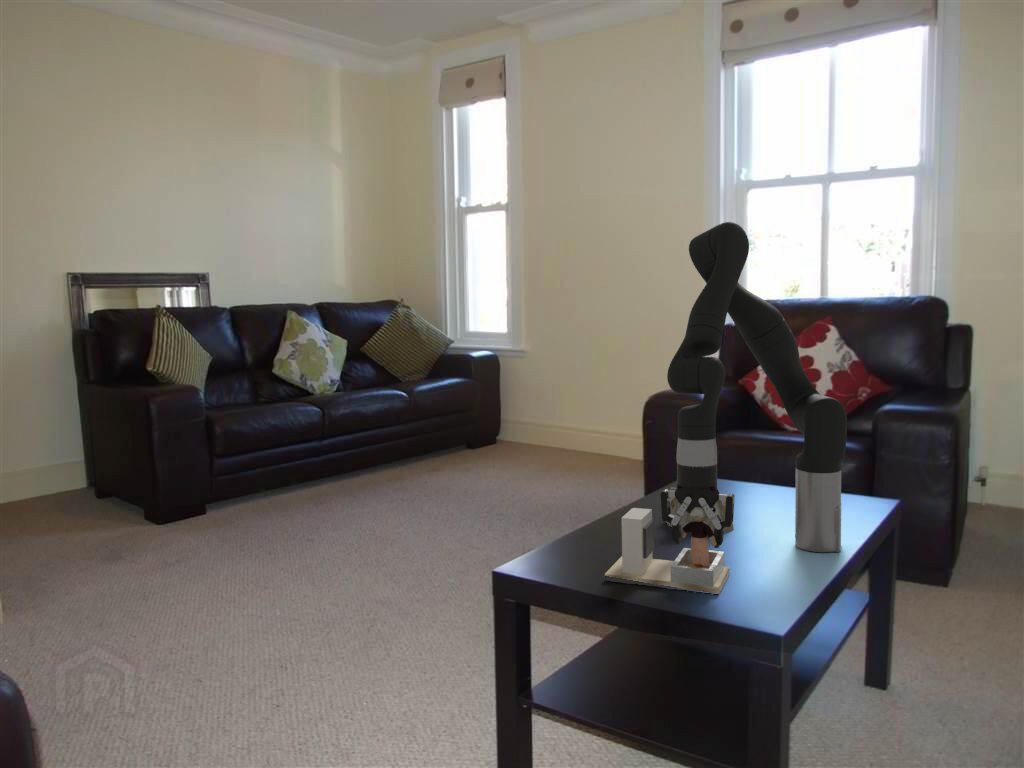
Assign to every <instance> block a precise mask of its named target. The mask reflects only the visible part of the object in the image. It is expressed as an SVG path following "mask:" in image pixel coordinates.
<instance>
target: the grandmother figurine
mask: <svg viewBox="0 0 1024 768" xmlns="http://www.w3.org/2000/svg"><path fill="white" fill-rule="evenodd" d="M689 514H690V516H692V517H693V518H694V520H695V521H692V522H689V523H688V524H686V525H685V526H684V527H683V531H681V539H685V538H686V537H687V535H688V534H691V536H690V548H691V562H692V564H691V566H690V567H697V568H700V567H701V568H706V569H709V568H710V566H711V565H710V564H709V550H710V549H709V542H710V545H711V547H714V546H716V544H717V543H716V541H715V537H714V533H713V531H712V530H711V528H710V526H709V525H707V524H706V523H704V522H703V521H704V520H705V519H706V513H705V511H704V510H703V508H701V507H695V508H694V509H693V510H692V511H691V513H689ZM708 539H709V540H708ZM702 565H703V566H702Z"/></svg>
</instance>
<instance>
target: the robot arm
mask: <svg viewBox="0 0 1024 768" xmlns="http://www.w3.org/2000/svg"><path fill="white" fill-rule="evenodd" d="M749 252H750V241H749V237H748V234H747V233H746V231H745V230H744V228H743V227H742V226H741V225H740V224H739V223H736V222H735V221H725V222H722V223H719V224H717V225H714V227H712V228H709V229H708V230H706V231H704V232H702V233H700V234H698V235H697V236H695V237H693V238H691V240H690V242H689V246H688V253H689V257H690V260H691V262H692V265H693V266H694V268H695V270H696V271H697V272H698V274H699V276H700V277H701V278H702V279H703V281H704V282H705V286H704V287H703V289H702V290H701V291H700V294H699V295H698V296H697V298H696V300H695V302H694V304H692V305H693V306H692V308H691V310H690V313H689V316H688V321H687V327H686V329H685V335H684V338H683V340H682V342H681V343H680V346H679V347H678V349H677V351H676V352H675V354H674V355H673V357H672V360H670V364H669V366H668V369H667V373H666V376H667V377H666V379H667V384H668V386H669V388H670V389H671V391H673V392H674V393H677V394H681V395H682V394H686V395H687V394H690V395H691V394H692V395H693V394H694V395H703V399H702V401H701V402H700V403H697V404H693V405H686V406H684V407H683V406H682V407H681V408H680V409H679V410H678V413H677V445H676V454H675V455H676V457H675V460H676V483H677V489H676V490H670V489H668V488H665V489H663V490H662V491H661V492H660V506H661V507H660V508H661V510H660V511H661V519H662V522H664V523H665V522H666V521H667V522H669V523H671V525H672V528H671V536H672V537H671V539H672V541H673V542H674V543H675V545H680V544H681V543H682V537H681V533H682V531H681V523H680V520H681V518H682V517H683V515H684V514H685V512H686V511H687V512H688V513H691V511H692V510H693V509H694V508H695V507H701V508H703V510H704V511H705V513H706V514H707V516H708V517H709V519H710V520H711V521H712V523H713V524H714V526H715V529H714V537H715V541H716V543H717V544H716V546H713V547H714V548H716V549H719V548H720V546H722V544H723V542H724V533H723V528H725V527H730V526H731V524H732V523H733V524H734V515H735V513H734V512H735V494H734V493H732V492H730V493H728V494H726V493H720V492H719V490H718V446H717V441H716V440H717V439H716V434H717V433H716V430H717V429H716V427H717V426H716V424H717V423H716V419H717V411H718V407H719V406H718V405H719V401H720V397H721V393H722V390H723V387H724V384H725V383H724V382H725V379H726V368H725V365H724V364H723V362H722V361H721V360H720V359H719V358H718V357H715V356H712V355H714V354H716V353H718V352H719V351H720V349H721V345H722V341H723V335H724V329H725V325H726V319H727V315H729V318H730V319H731V321H732V322H733V323H734V325H735V327H736V328H737V330H738V331H739V333H740V335H741V337H742V338H743V341H744V342H745V344H746V345H747V347H748V349H749V350H750V353H752V355H753V356H754V358H755V360H756V361H757V363H758V364H759V366H760V367H761V369H762V371H763V372H764V374H765V375H766V377H767V378H768V379H769V381H770V382H771V384H772V385H773V388H774V389H775V390H776V392H777V395H778V396H779V399H780V401H781V403H782V405H783V407H784V410H785V412H786V414H787V416H788V418H789V420H790V422H791V424H792V425H793V427H794V428H795V429H796V430H797V431H798V432H799V433H801V434H802V435H803V436H804V438H803V448H802V452H800V453H798V454H797V455H796V457H795V510H794V511H795V512H794V513H795V516H794V519H795V521H794V522H795V528H794V530H795V531H794V532H795V534H794V537H795V541H794V542H795V546H796V547H797V548H798V549H801V550H804V551H808V552H813V553H814V552H816V553H832V552H834V553H836V552H837V553H840V552H841V546H842V463H843V461H844V460H845V459H844V458H845V456H846V452H847V449H846V448H847V436H848V435H847V434H848V417H847V416H848V415H847V411H846V409H845V407H844V405H843V404H842V402H840V401H839V400H838V399H836V398H834V397H830V396H826V395H823V394H821V393H820V392H819V391H818V390H817V389H816V388H815V386H814V384H813V383H812V382H811V381H810V379H809V377H808V376H807V374H806V372H805V370H804V368H803V365H802V363H801V361H802V360H801V358H800V351H799V347H798V343H797V339H796V337H795V335H794V332H793V331H792V329H791V328H790V326H789V325H788V323H787V321H786V319H785V317H784V316H783V314H782V313H781V312H780V310H778V309H777V307H775V306H774V305H773V304H772V303H770V302H768V301H766V300H764V299H763V298H761V297H760V296H758V295H756V294H754V293H753V292H752V291H751V292H750V290H748V289H746V288H745V287H744V286H743V285H741V284H740V283H739V280H740V278H741V274H742V272H743V269H744V267H745V266H746V265H745V264H746V262H747V259H748V256H749ZM673 496H675V497H676V499H677V500H678V501H679V503H680V504H681V506H680V508H679V510H678V511H677V513H676V515H675V516H673V515H671V508H670V506H671V501H672V499H673ZM718 500H721V501H722V504H723V505H724V506H726V508H725V519H724V520H722V519H721V517H720V516H719V513H718V511H717V509H716V507H715V506H714V505H715V503H716V502H717V501H718ZM709 512H710V513H709Z"/></svg>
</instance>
